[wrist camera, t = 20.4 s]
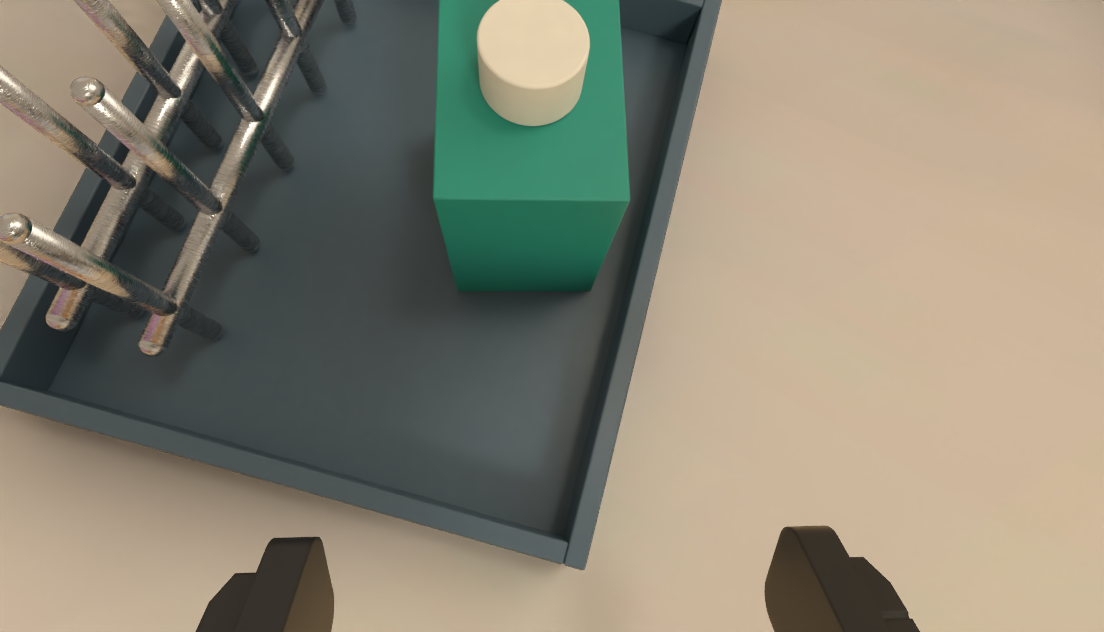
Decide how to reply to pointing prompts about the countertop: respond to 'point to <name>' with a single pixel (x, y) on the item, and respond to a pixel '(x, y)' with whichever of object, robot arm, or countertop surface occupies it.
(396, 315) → the drip tray
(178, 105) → the dish rack
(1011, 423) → the countertop surface
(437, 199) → the detergent bottle
